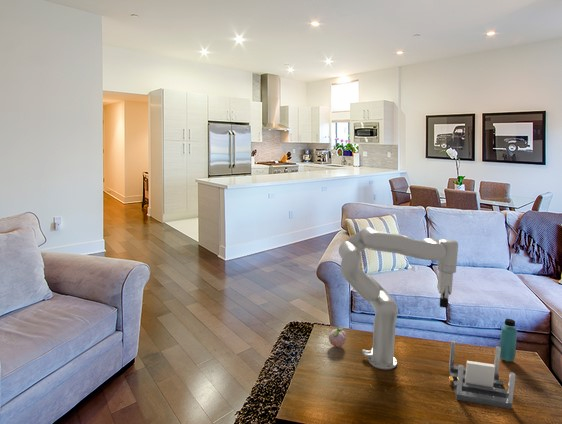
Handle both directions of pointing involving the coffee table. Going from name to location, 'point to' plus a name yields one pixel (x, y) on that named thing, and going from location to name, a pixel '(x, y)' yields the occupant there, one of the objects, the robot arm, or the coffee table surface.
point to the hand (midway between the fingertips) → (443, 306)
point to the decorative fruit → (337, 337)
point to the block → (480, 373)
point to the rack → (477, 393)
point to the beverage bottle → (508, 340)
